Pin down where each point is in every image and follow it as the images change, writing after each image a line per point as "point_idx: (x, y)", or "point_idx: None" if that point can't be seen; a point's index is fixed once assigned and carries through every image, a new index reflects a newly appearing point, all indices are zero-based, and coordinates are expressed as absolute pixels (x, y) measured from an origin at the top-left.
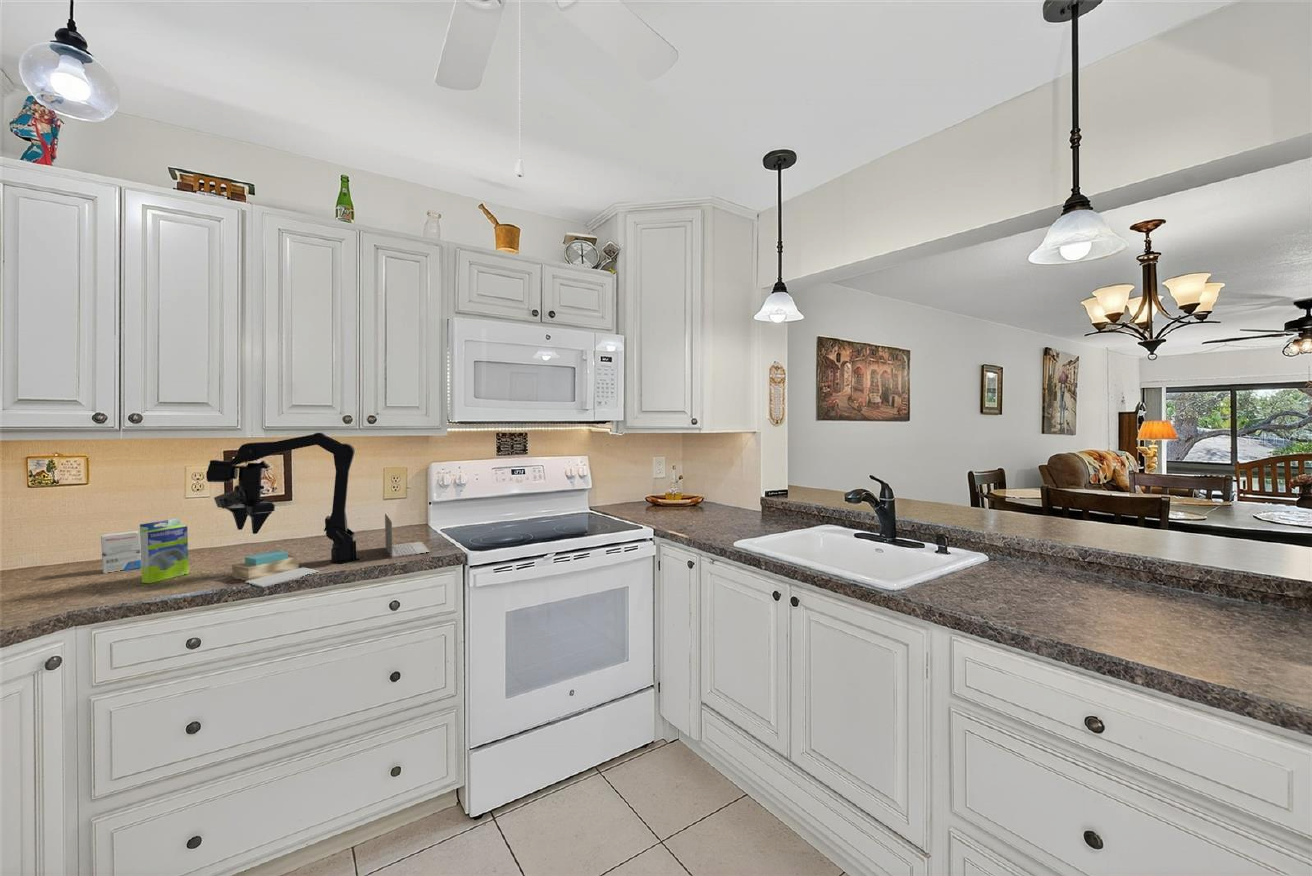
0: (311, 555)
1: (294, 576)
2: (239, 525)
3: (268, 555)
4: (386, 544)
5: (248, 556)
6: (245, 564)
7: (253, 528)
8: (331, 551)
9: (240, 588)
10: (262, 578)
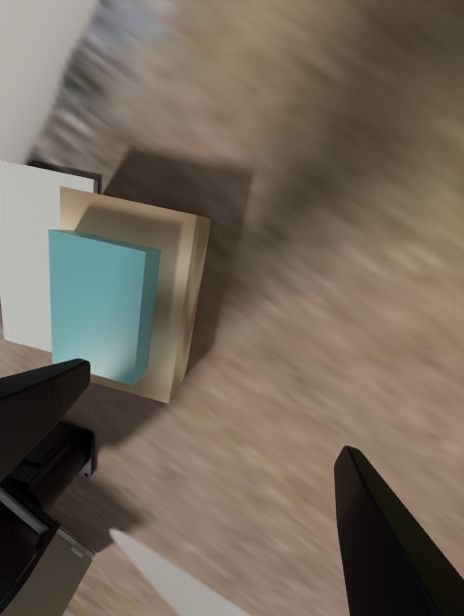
0: (215, 482)
1: (7, 273)
2: (354, 493)
3: (69, 301)
4: (67, 557)
5: (138, 263)
6: (142, 236)
7: (14, 376)
8: (46, 452)
9: (48, 123)
10: None
